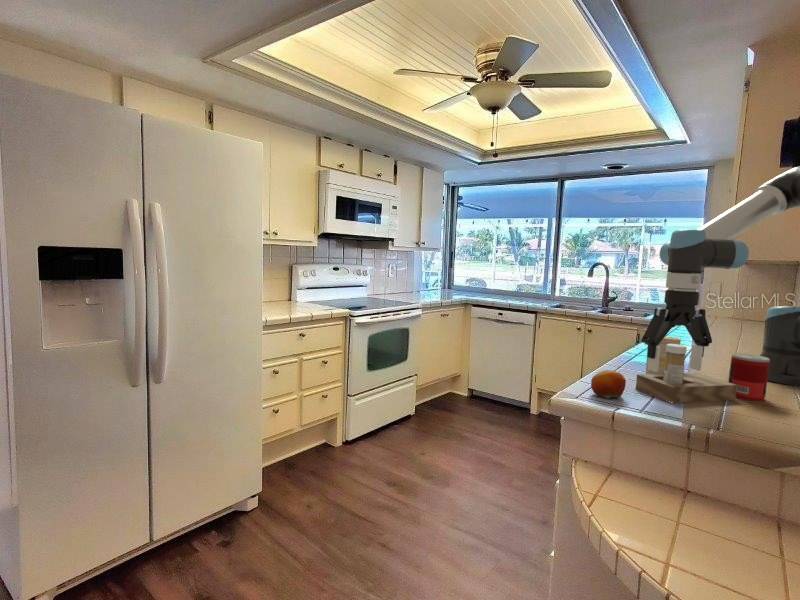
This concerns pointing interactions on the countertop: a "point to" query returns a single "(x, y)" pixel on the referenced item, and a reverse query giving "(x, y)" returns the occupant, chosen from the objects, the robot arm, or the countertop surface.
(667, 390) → the caddy
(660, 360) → the supplement box
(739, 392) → the canned food
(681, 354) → the sprinkles bottle
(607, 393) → the fruit
